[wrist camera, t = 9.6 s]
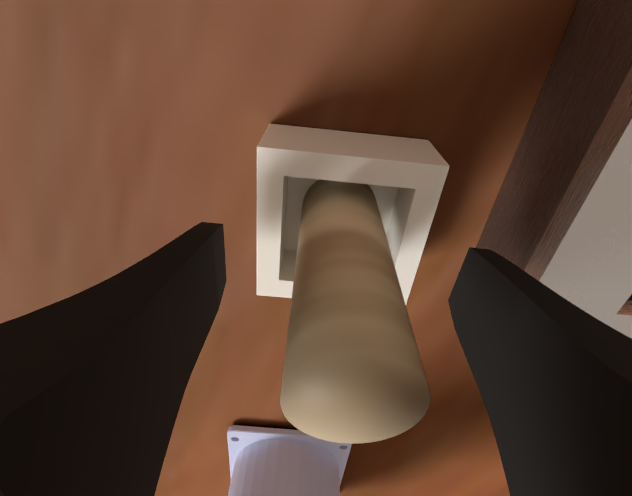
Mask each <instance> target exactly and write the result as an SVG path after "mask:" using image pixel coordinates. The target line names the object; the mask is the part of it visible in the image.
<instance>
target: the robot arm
mask: <svg viewBox="0 0 632 496" xmlns="http://www.w3.org/2000/svg"><path fill="white" fill-rule="evenodd" d="M225 283H226V266H225V249H224V232H223V224H217V223H206V222H201V223H199V224H198V225H196V226H194V227H193V228H191V229H190V230H188V231H187V232H185V233H184V234H182V235H181V236H179V237H178V238H176V239H175V240H173V241H172V242H170V243H168V244H167V245H165V246H164V247H162V248H161V249H159V250H158V251H156V252H154V253H153V254H151V255H150V256H148V257H146V258H144V259H143V260H141V261H139V262H138V263H136V264H134V265H132V266H131V267H129V268H127V269H126V270H124V271H122V272H120V273H119V274H117V275H115V276H113V277H111V278H109V279H107V280H105V281H103V282H101V283H99V284H97V285H95V286H93V287H91V288H89V289H86V290H84V291H82V292H80V293H78V294H76V295H73V296H71V297H69V298H66V299H64V300H61V301H59V302H56V303H54V304H51V305H49V306H46V307H44V308H41V309H39V310H36V311H34V312H31V313H29V314H26V315H24V316H21V317H18V318H15V319H13V320H10V321H7V322H4V323H1V324H0V496H154V494H155V491H156V487H157V483H158V480H159V476H160V472H161V469H162V465H163V461H164V458H165V455H166V451H167V448H168V444H169V441H170V437H171V434H172V430H173V427H174V424H175V420H176V417H177V414H178V411H179V408H180V404H181V401H182V398H183V395H184V391H185V389H186V386H187V383H188V381H189V378H190V375H191V373H192V370H193V368H194V366H195V363H196V361H197V359H198V356H199V354H200V352H201V349H202V347H203V345H204V342H205V340H206V338H207V335H208V333H209V331H210V328H211V326H212V323H213V321H214V319H215V316H216V314H217V311H218V309H219V305H220V302H221V298H222V295H223V291H224V287H225ZM448 301H449V305H450V310H451V314H452V319H453V322H454V326H455V330H456V333H457V335H458V338H459V341H460V343H461V346H462V348H463V351H464V353H465V356H466V358H467V361H468V363H469V365H470V368H471V370H472V373H473V375H474V378H475V380H476V383H477V385H478V388H479V390H480V393H481V395H482V397H483V400H484V403H485V406H486V408H487V411H488V414H489V417H490V421H491V424H492V428H493V431H494V435H495V438H496V442H497V445H498V449H499V452H500V456H501V460H502V464H503V468H504V472H505V476H506V480H507V484H508V487H509V492H510V496H632V338H630V337H628V336H626V335H624V334H622V333H621V332H619V331H617V330H615V329H613V328H612V327H610V326H608V325H606V324H605V323H603V322H601V321H600V320H598V319H596V318H595V317H593V316H592V315H590V314H588V313H587V312H585V311H584V310H582V309H580V308H579V307H577V306H576V305H574V304H572V303H571V302H569V301H568V300H566V299H565V298H563V297H562V296H560V295H559V294H557V293H556V292H554V291H553V290H551V289H550V288H548V287H547V286H545V285H544V284H542V283H541V282H540V281H538V280H537V279H535V278H534V277H532V276H531V275H529V274H528V273H526V272H525V271H524V270H522V269H521V268H519V267H518V266H516V265H515V264H513V263H512V262H510V261H509V260H507V259H506V258H504V257H503V256H501V255H499V254H498V253H496V252H494V251H492V250H490V249H480V248H469V250H468V252H467V255H466V257H465V260H464V262H463V265H462V267H461V270H460V272H459V275H458V277H457V280H456V282H455V285H454V287H453V290H452V292H451V295H450V297H449V300H448ZM227 438H228V450H229V462H230V474H231V483H230V488H229V493H228V496H340V484H341V481H342V477H343V474H344V470H345V467H346V463H347V460H348V456H349V453H350V449H351V446H352V444H349V443H336V442H330V441H326V440H322V439H318V438H315V437H313V436H310V435H308V434H306V433H304V432H302V431H300V430H292V429H279V428H267V427H254V426H241V425H232V426H230V427H229V428H228V432H227Z"/></svg>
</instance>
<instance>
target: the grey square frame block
mask: <svg viewBox="0 0 632 496" xmlns="http://www.w3.org/2000/svg"><path fill="white" fill-rule="evenodd" d="M476 248H480V249H490V250H492V251H494V252H496V253H498V254H499V255H501V256H503V257H504V258H506V259H507V260H509V261H510V262H512V263H513V264H515V265H516V266H518V267H519V268H521V269H522V270H524V271H525V272H526V273H528V274H529V275H531V276H532V277H534V278H535V279H537V280H538V281H540V282H541V283H542V284H544V285H545V286H547V287H548V288H550V289H551V290H553V291H554V292H556V293H557V294H559V295H560V296H562V297H563V298H565V299H566V300H568V301H569V302H571V303H572V304H574V305H576V306H577V307H579V308H580V309H582V310H584V311H585V312H587V313H588V314H590V315H592V316H593V317H595V318H596V319H598V320H600V321H601V322H603V323H605V324H606V325H608V326H610V327H612V328H613V329H615V330H617V331H619V332H621V333H622V334H624V335H626V336H628V337H630V338H632V0H579V2H578V4H577V6H576V9H575V11H574V14H573V16H572V19H571V21H570V23H569V26H568V28H567V31H566V33H565V35H564V38H563V40H562V43H561V45H560V47H559V50H558V52H557V55H556V57H555V59H554V62H553V64H552V67H551V69H550V71H549V74H548V76H547V79H546V81H545V84H544V86H543V88H542V91H541V93H540V96H539V98H538V100H537V103H536V105H535V108H534V110H533V112H532V115H531V117H530V120H529V122H528V124H527V127H526V129H525V132H524V134H523V136H522V139H521V141H520V144H519V146H518V148H517V151H516V153H515V156H514V158H513V161H512V163H511V165H510V168H509V170H508V173H507V175H506V177H505V180H504V182H503V185H502V187H501V189H500V192H499V194H498V197H497V199H496V201H495V204H494V206H493V209H492V211H491V213H490V216H489V218H488V221H487V223H486V225H485V228H484V230H483V233H482V235H481V238H480V240H479V242H478V245H477V247H476Z"/></svg>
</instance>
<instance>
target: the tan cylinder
mask: <svg viewBox="0 0 632 496" xmlns="http://www.w3.org/2000/svg"><path fill="white" fill-rule="evenodd" d="M430 399H431V398H430V391H429V387H428V384H427V380H426V376H425V373H424V369H423V366H422V362H421V359H420V355H419V351H418V348H417V344H416V341H415V337H414V334H413V330H412V327H411V323H410V319H409V316H408V312H407V309H406V305H405V302H404V298H403V294H402V291H401V287H400V284H399V280H398V277H397V273H396V269H395V266H394V262H393V259H392V255H391V252H390V248H389V244H388V241H387V237H386V234H385V230H384V227H383V223H382V219H381V216H380V212H379V209H378V205H377V202H376V198H375V195H374V193H373V191H372V189H371V188H370V187H369V185H368V184H360V183H350V182H340V181H330V180H320V179H319V180H317V181H316V182H315V183H314V184H312V185H311V187H310V188H309V189H308V191H307V192H306V194H305V196H304V199H303V204H302V212H301V221H300V230H299V238H298V247H297V256H296V265H295V273H294V282H293V291H292V300H291V308H290V317H289V326H288V334H287V343H286V352H285V361H284V369H283V378H282V387H281V396H280V405H281V409H282V412H283V414H284V416H285V417H286V418H287V420H288V421H289V422H290V423H291V424H292V425H293V426H295V427H296V428H297V429H299V430H300V431H302V432H304V433H306V434H308V435H310V436H313V437H315V438H318V439H322V440H326V441H330V442H336V443H349V444H357V443H370V442H376V441H381V440H385V439H388V438H391V437H394V436H397V435H399V434H401V433H403V432H405V431H407V430H409V429H410V428H412V427H413V426H415V425H416V424H417V423H418V422H419V421H420V420H421V419H422V418H423V417H424V415H425V414H426V412H427V410H428V408H429V405H430Z"/></svg>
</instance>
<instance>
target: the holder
mask: <svg viewBox="0 0 632 496" xmlns="http://www.w3.org/2000/svg"><path fill="white" fill-rule="evenodd" d="M449 167H450V166H449V165H448V163H447V162H446V161H445V160H444V159H443V157H442V156H441V155H440V154H439V152H438V151H437V150H436V149H435V148H434V146H433V145H432V144H431V143H430V141H429V140H424V139H414V138H404V137H395V136H385V135H375V134H366V133H356V132H346V131H337V130H327V129H318V128H308V127H298V126H289V125H279V124H269V125H268V127H267V129H266V131H265V133H264V134H263V136H262V138H261V140H260V142H259V144H258V146H257V295H263V296H274V297H285V298H292V291H293V282H294V273H295V265H296V256H297V247H298V238H299V230H300V221H301V212H302V204H303V199H304V196H305V194H306V192H307V191H308V189H309V188H310V187H311V185H312V184H314V183H315V182H316V181H317V180H319V179H320V180H330V181H340V182H350V183H360V184H368V185H369V187H370V188H371V189H372V191H373V193H374V195H375V198H376V202H377V205H378V209H379V212H380V216H381V219H382V223H383V227H384V230H385V234H386V237H387V241H388V244H389V248H390V252H391V255H392V259H393V262H394V266H395V269H396V273H397V277H398V280H399V284H400V287H401V291H402V294H403V298H404V302H405V305H406V303H407V300H408V297H409V293H410V290H411V287H412V284H413V281H414V278H415V275H416V271H417V268H418V265H419V262H420V259H421V256H422V252H423V249H424V246H425V243H426V240H427V237H428V234H429V230H430V227H431V224H432V221H433V218H434V215H435V211H436V208H437V205H438V202H439V199H440V196H441V193H442V189H443V186H444V183H445V180H446V177H447V174H448V170H449Z"/></svg>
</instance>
